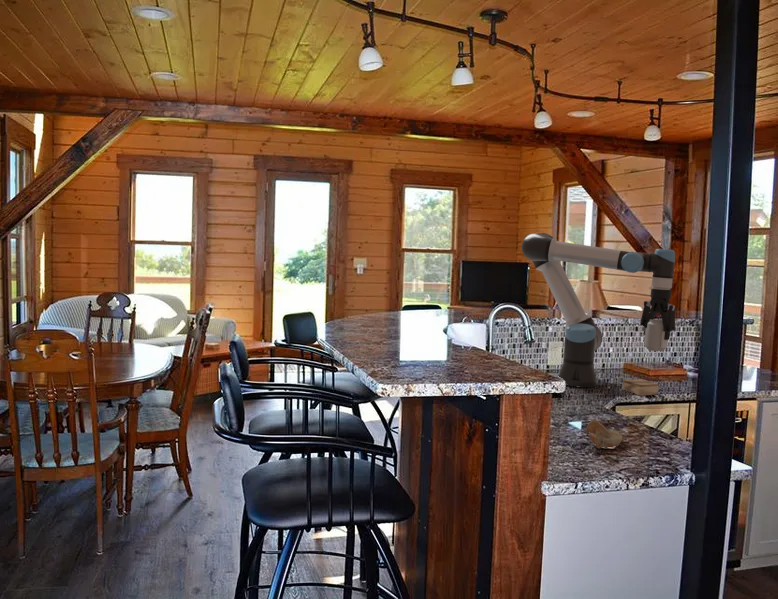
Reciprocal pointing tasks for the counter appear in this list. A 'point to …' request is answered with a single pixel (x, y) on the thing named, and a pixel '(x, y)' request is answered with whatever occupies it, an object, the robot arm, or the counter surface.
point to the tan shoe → (603, 435)
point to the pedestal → (640, 387)
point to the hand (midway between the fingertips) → (655, 345)
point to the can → (654, 335)
